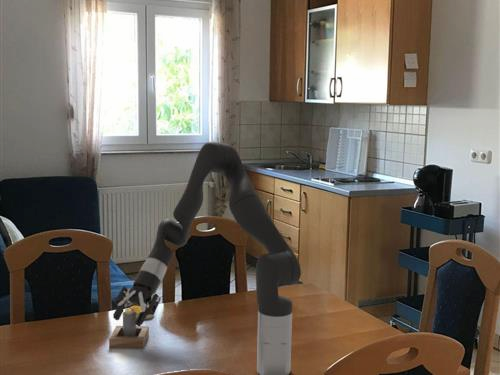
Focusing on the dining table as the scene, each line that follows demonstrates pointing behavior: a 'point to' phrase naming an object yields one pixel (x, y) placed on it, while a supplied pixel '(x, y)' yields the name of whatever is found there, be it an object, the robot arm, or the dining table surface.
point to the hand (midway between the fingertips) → (126, 322)
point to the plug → (129, 323)
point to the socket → (129, 338)
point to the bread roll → (138, 310)
